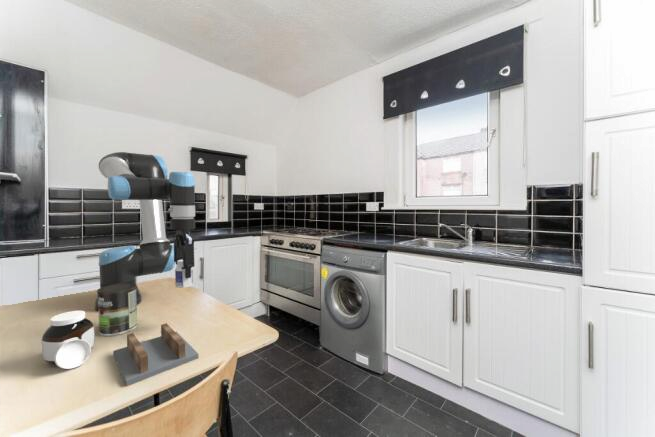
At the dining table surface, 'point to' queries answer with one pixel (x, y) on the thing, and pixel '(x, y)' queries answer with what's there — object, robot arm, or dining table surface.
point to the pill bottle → (180, 274)
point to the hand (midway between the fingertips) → (184, 284)
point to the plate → (151, 359)
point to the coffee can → (117, 309)
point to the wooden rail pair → (141, 356)
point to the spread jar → (68, 340)
